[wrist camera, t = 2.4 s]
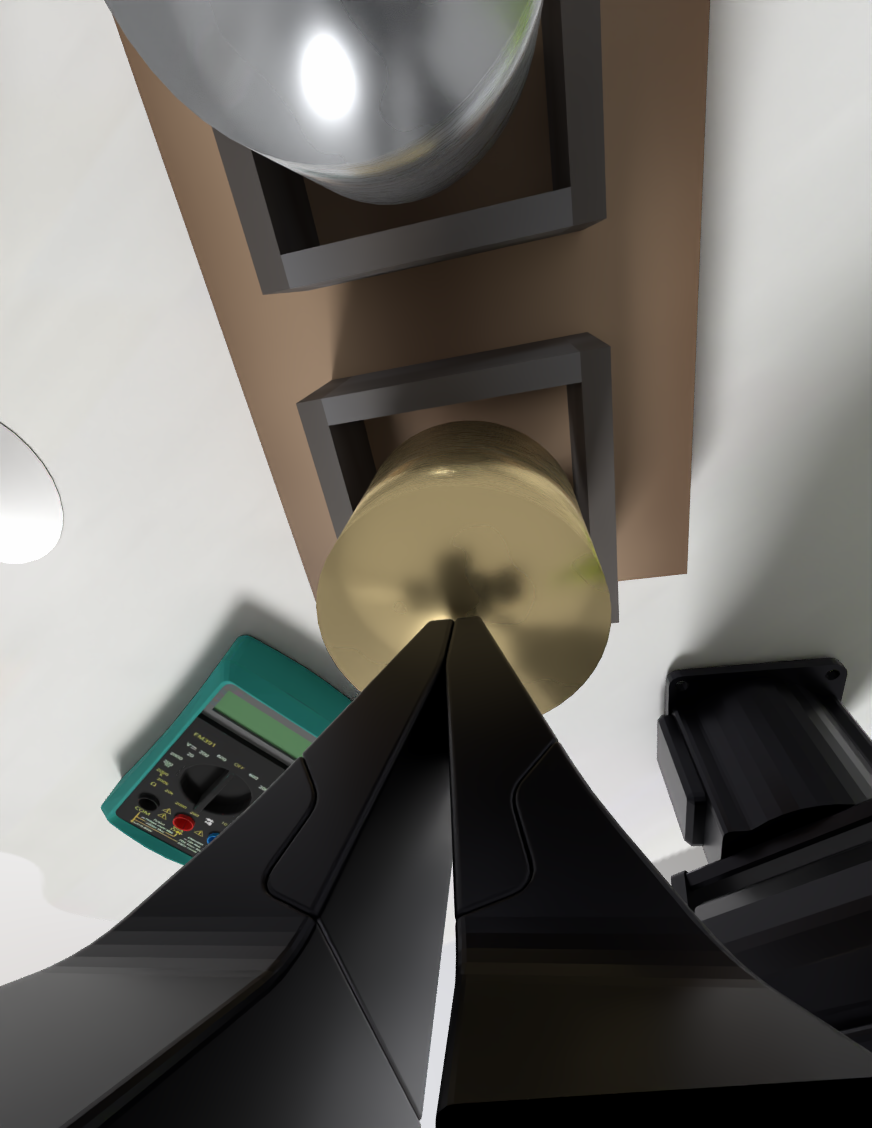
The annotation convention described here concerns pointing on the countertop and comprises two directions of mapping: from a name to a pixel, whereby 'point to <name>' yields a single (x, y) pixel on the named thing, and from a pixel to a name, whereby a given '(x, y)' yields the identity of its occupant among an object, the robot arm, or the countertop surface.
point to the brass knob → (469, 560)
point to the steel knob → (346, 82)
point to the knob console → (480, 287)
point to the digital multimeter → (222, 750)
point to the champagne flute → (26, 503)
